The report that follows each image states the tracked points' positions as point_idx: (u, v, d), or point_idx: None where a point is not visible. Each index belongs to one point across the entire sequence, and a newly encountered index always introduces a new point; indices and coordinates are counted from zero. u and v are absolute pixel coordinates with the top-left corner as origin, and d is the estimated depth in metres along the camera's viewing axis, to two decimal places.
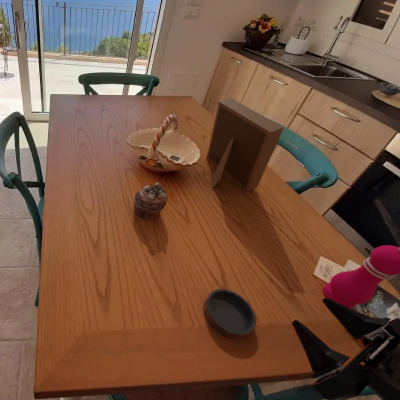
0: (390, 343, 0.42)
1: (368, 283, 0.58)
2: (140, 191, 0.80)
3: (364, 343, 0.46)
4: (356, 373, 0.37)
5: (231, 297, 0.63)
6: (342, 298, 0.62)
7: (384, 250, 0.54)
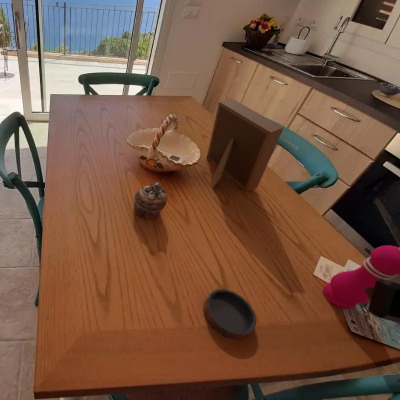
0: None
1: (368, 284, 0.58)
2: (140, 191, 0.80)
3: None
4: None
5: (231, 297, 0.63)
6: (342, 298, 0.62)
7: (384, 250, 0.54)
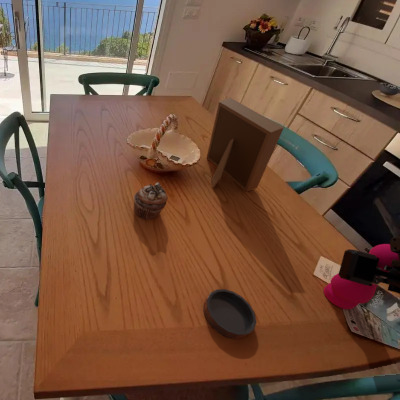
0: None
1: None
2: (140, 191, 0.80)
3: None
4: None
5: (231, 297, 0.63)
6: (342, 298, 0.62)
7: (381, 249, 0.55)
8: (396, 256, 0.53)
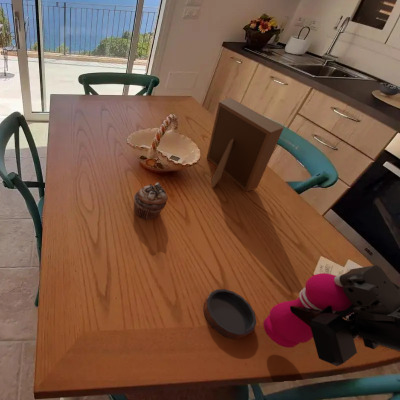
0: None
1: None
2: (140, 191, 0.80)
3: None
4: (328, 316, 0.39)
5: (231, 297, 0.63)
6: None
7: (324, 291, 0.42)
8: (344, 295, 0.41)
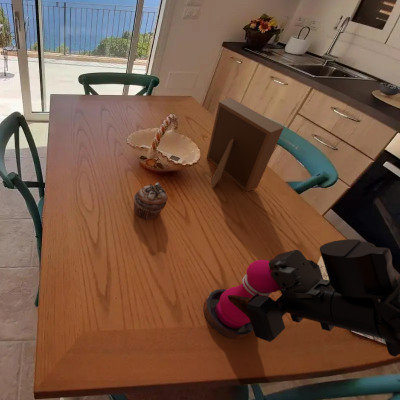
0: None
1: None
2: (140, 191, 0.80)
3: None
4: (260, 299, 0.44)
5: None
6: None
7: (261, 276, 0.48)
8: None
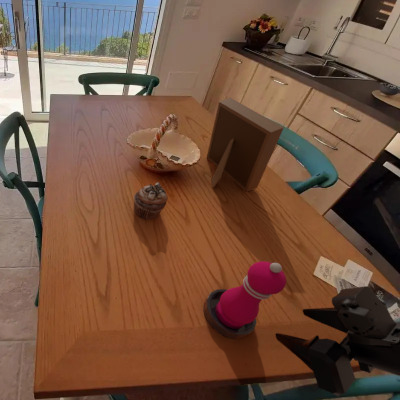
0: None
1: (257, 304, 0.53)
2: (140, 191, 0.80)
3: None
4: (325, 343, 0.38)
5: None
6: None
7: (262, 278, 0.48)
8: (278, 280, 0.47)
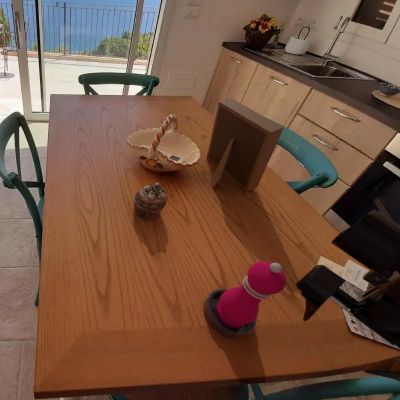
0: None
1: (257, 304, 0.53)
2: (140, 191, 0.80)
3: None
4: None
5: None
6: None
7: (262, 278, 0.48)
8: (278, 280, 0.47)
